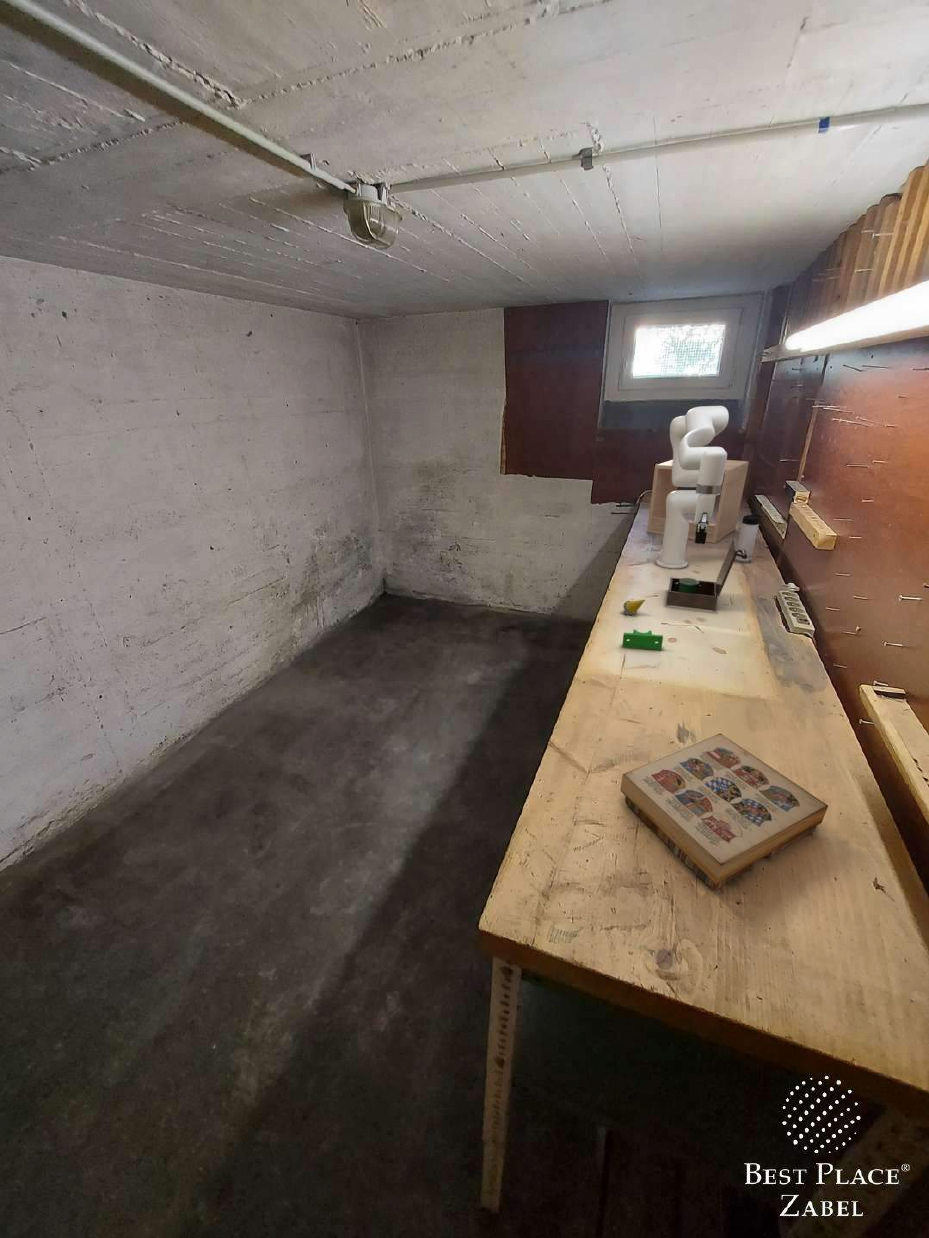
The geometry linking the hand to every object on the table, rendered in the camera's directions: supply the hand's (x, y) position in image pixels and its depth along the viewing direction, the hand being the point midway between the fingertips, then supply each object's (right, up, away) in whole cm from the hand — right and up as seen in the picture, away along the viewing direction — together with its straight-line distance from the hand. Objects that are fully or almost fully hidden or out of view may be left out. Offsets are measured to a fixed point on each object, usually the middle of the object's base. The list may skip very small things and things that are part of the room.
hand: (699, 539), depth 167 cm
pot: (-1, -20, +8) cm, 22 cm away
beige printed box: (-35, -63, -75) cm, 105 cm away
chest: (0, -21, +8) cm, 23 cm away
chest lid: (+8, -10, -2) cm, 12 cm away
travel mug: (+40, -2, +43) cm, 59 cm away
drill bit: (-23, -26, 0) cm, 35 cm away
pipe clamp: (-27, -36, -19) cm, 49 cm away
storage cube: (+38, +19, +87) cm, 96 cm away
